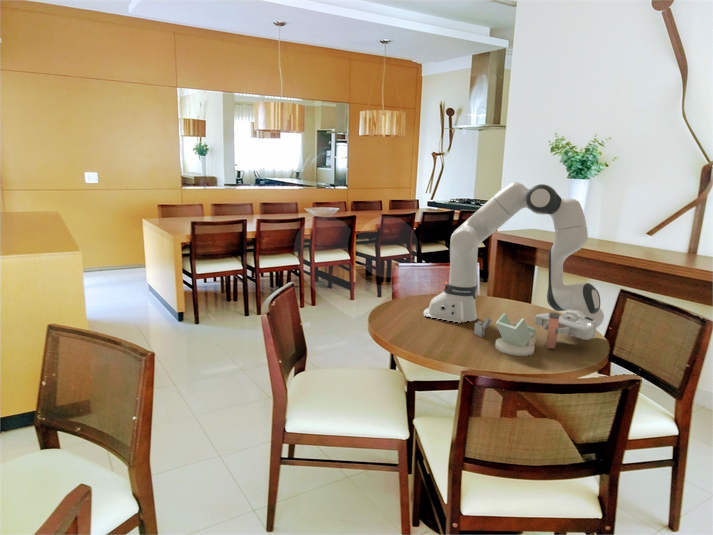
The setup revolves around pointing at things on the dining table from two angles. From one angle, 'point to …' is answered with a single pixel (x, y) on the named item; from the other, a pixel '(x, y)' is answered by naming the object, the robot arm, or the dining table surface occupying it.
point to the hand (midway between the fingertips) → (551, 329)
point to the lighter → (481, 327)
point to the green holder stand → (515, 337)
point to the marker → (552, 330)
